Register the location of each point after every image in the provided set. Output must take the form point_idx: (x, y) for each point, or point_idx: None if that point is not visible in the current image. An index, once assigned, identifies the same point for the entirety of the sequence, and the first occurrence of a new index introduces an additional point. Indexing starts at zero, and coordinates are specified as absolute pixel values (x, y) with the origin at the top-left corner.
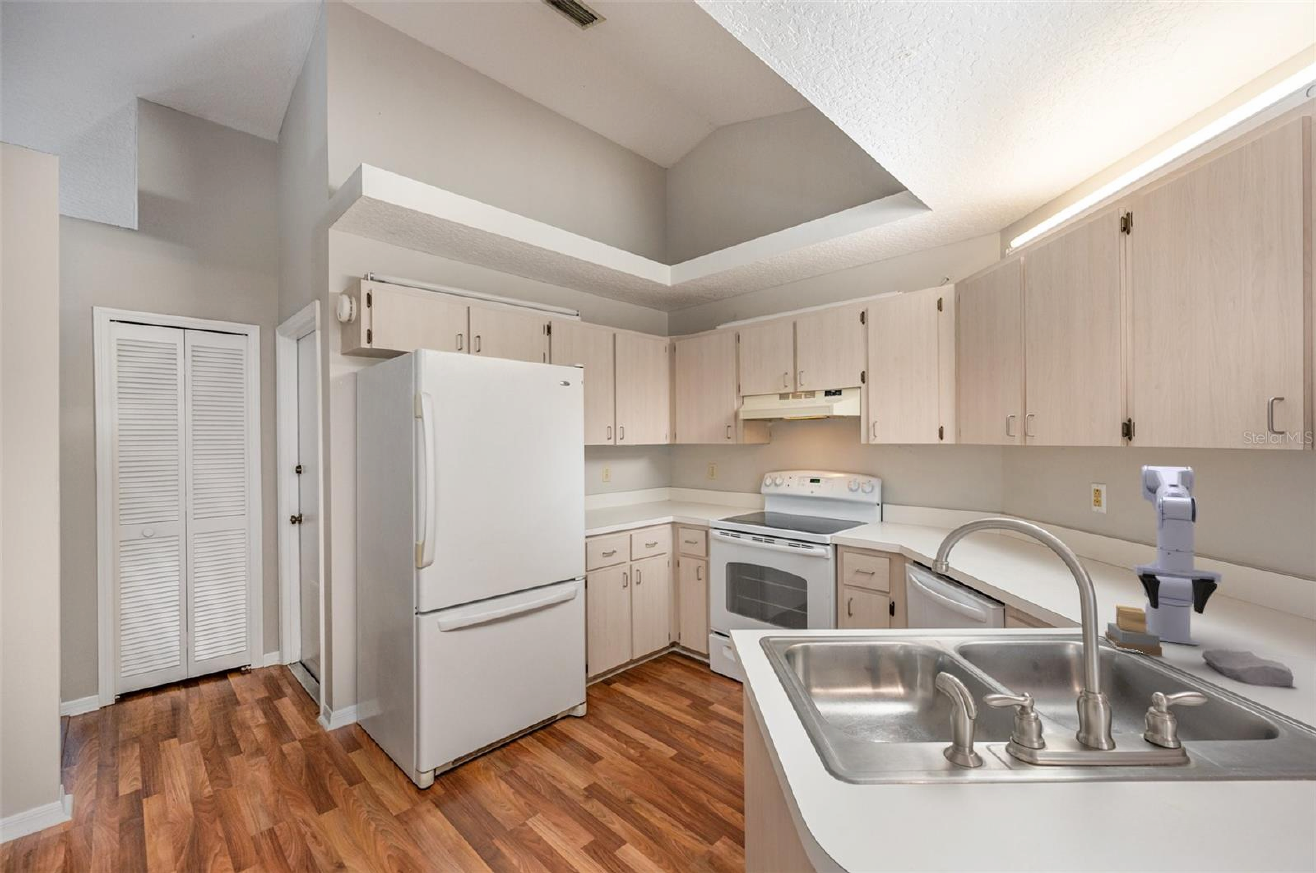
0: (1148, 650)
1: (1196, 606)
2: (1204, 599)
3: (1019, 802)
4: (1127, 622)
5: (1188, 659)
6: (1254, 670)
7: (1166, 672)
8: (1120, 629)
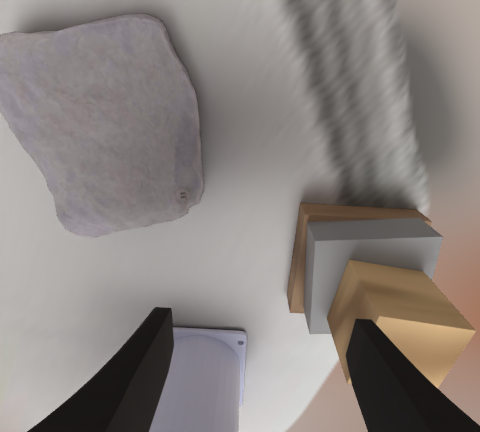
0: (338, 209)
1: (164, 356)
2: (115, 375)
3: None
4: (418, 288)
5: (232, 204)
6: (106, 19)
7: (382, 19)
8: (423, 270)
